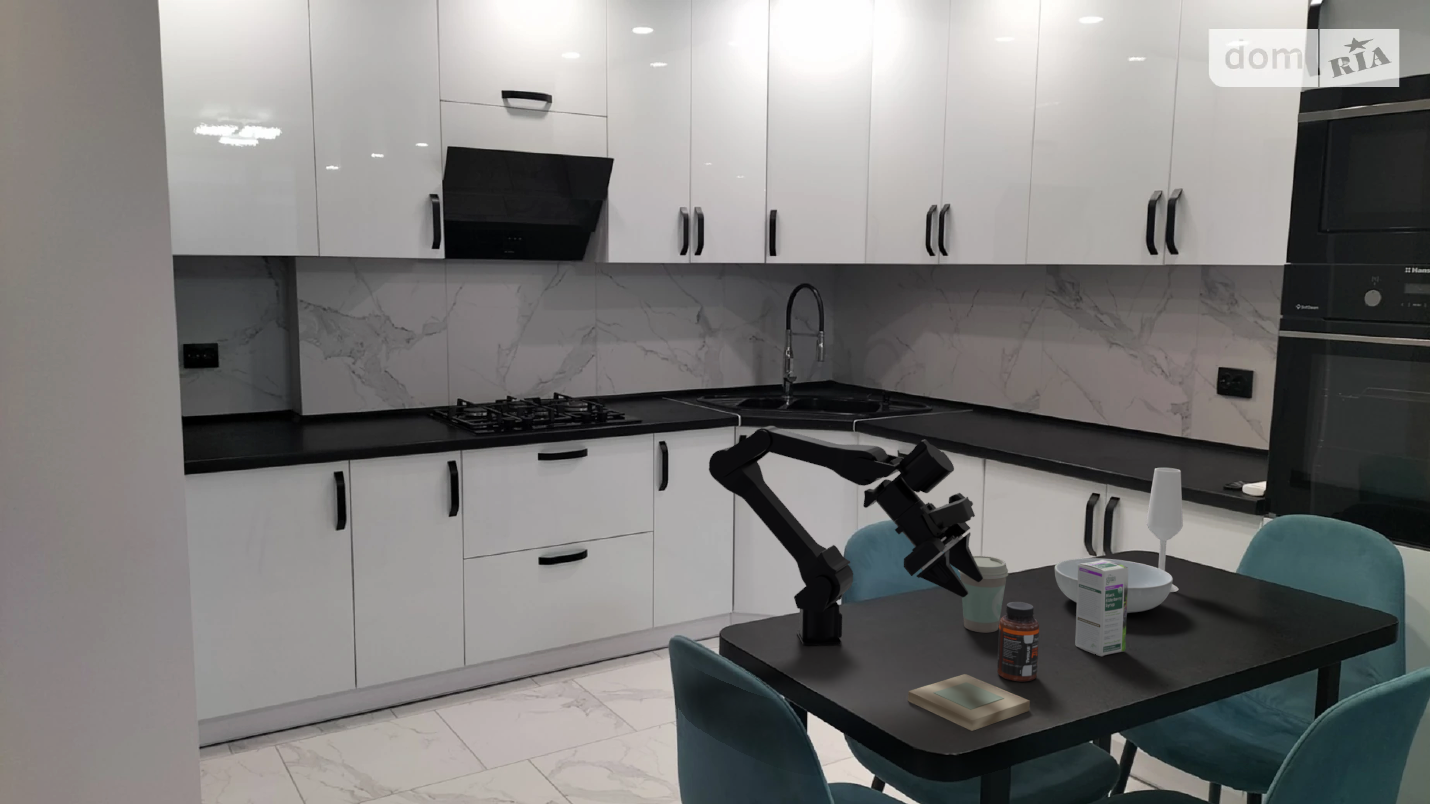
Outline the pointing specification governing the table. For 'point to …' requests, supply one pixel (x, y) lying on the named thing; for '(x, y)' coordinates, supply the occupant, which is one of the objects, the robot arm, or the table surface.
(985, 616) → the coffee cup
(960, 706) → the board
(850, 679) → the table surface
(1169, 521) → the champagne flute
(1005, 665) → the supplement bottle
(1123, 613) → the syrup box
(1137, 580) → the serving bowl
